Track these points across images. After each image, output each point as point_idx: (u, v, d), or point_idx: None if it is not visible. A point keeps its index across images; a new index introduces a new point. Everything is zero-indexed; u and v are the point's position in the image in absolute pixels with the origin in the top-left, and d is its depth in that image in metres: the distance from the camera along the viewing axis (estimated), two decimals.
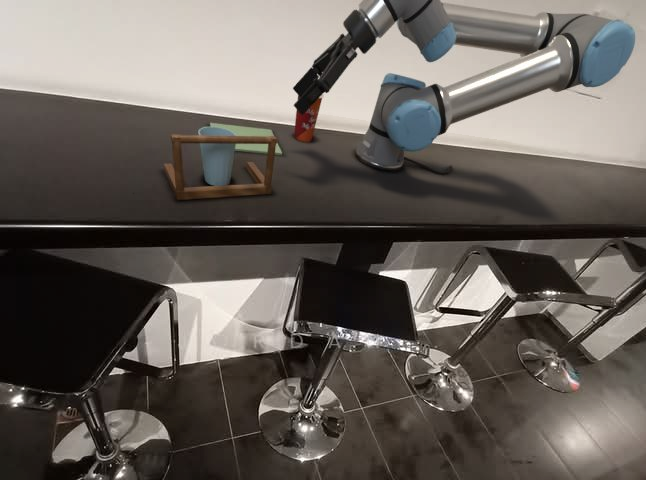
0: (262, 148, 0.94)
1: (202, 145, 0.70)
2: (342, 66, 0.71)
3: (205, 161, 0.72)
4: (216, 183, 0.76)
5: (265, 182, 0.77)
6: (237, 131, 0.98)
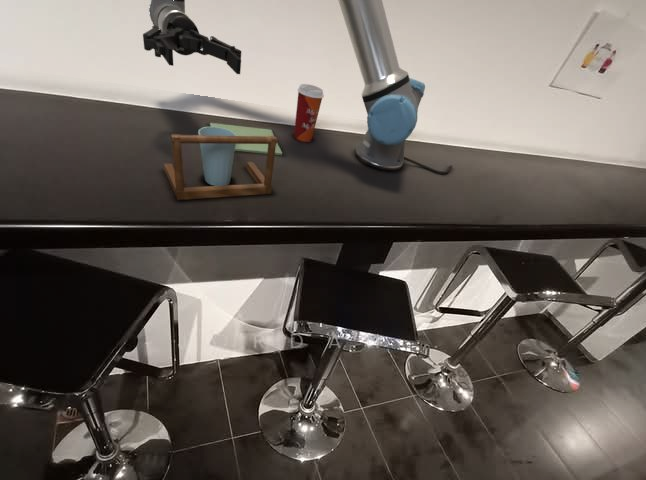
0: (262, 148, 0.94)
1: (202, 145, 0.70)
2: None
3: (205, 161, 0.72)
4: (216, 183, 0.76)
5: (265, 182, 0.77)
6: (237, 131, 0.98)
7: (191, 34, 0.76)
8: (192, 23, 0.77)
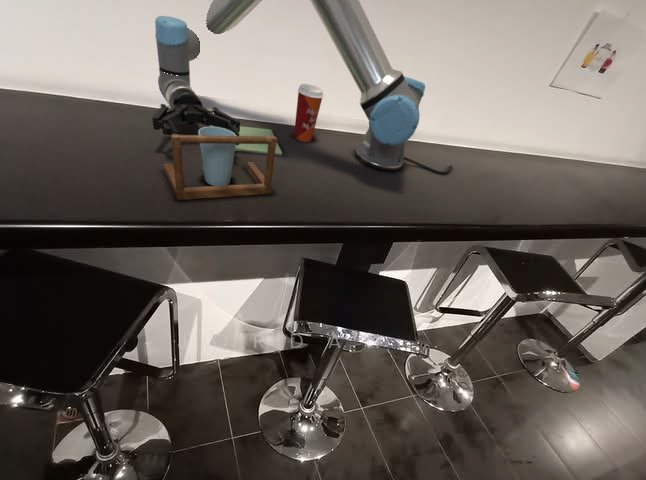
0: (262, 148, 0.94)
1: (202, 145, 0.70)
2: None
3: (205, 161, 0.72)
4: (216, 183, 0.76)
5: (265, 182, 0.77)
6: None
7: (195, 108, 0.84)
8: (196, 98, 0.86)
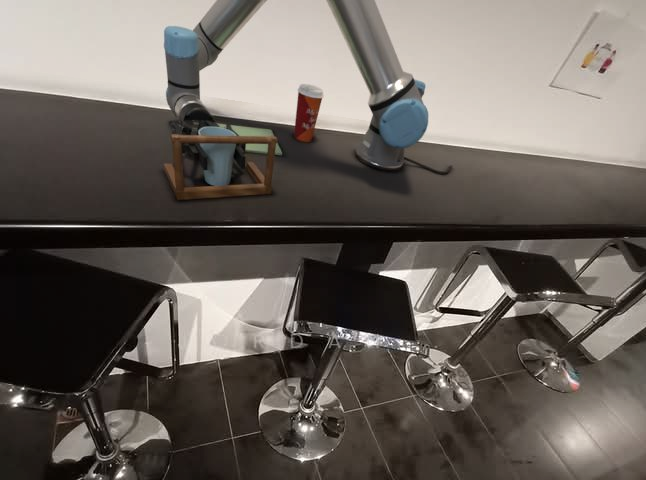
0: (262, 148, 0.94)
1: (202, 145, 0.70)
2: None
3: None
4: (216, 183, 0.76)
5: (265, 182, 0.77)
6: (237, 131, 0.98)
7: (207, 125, 0.79)
8: (207, 113, 0.80)
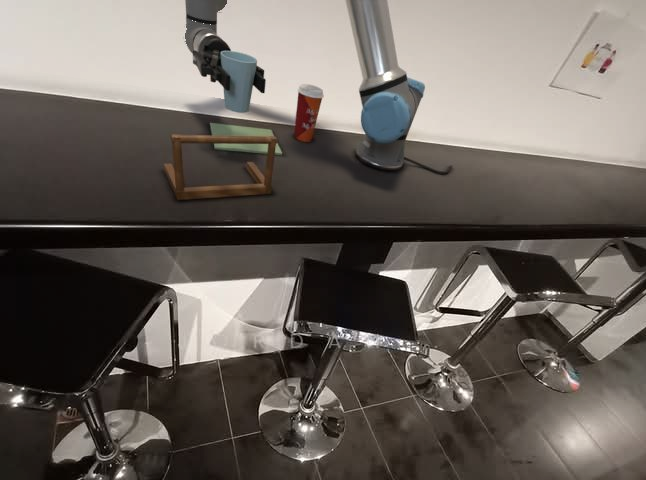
0: (262, 148, 0.94)
1: (224, 66, 0.72)
2: (197, 60, 0.77)
3: None
4: (236, 109, 0.78)
5: (265, 182, 0.77)
6: (237, 131, 0.98)
7: None
8: (226, 45, 0.83)
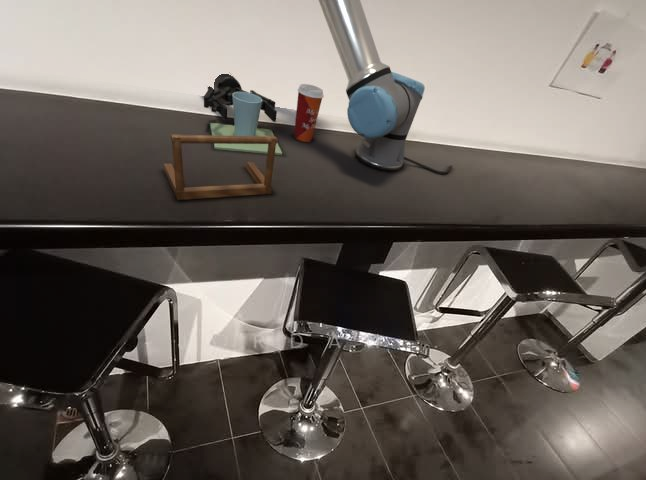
0: (262, 148, 0.94)
1: (235, 105, 0.88)
2: None
3: (237, 119, 0.91)
4: None
5: (265, 182, 0.77)
6: None
7: (236, 91, 0.97)
8: (236, 81, 0.98)
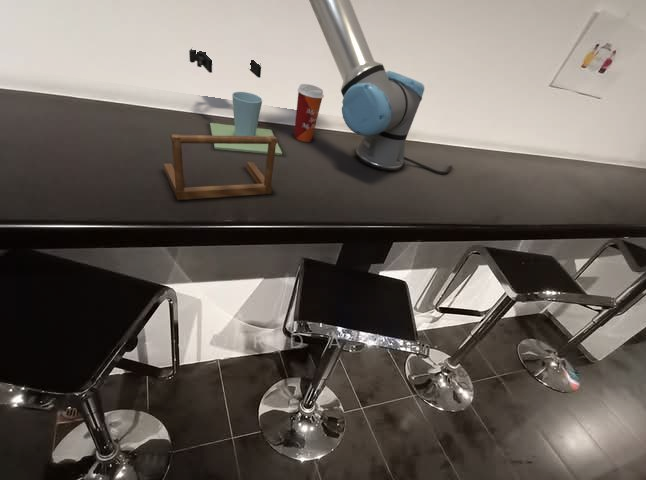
0: (262, 148, 0.94)
1: (235, 105, 0.88)
2: None
3: (237, 119, 0.91)
4: None
5: (265, 182, 0.77)
6: None
7: None
8: None
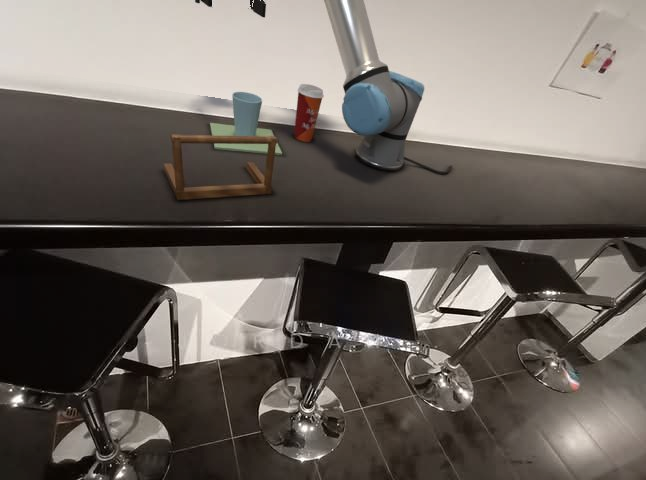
0: (262, 148, 0.94)
1: (235, 105, 0.88)
2: None
3: (237, 119, 0.91)
4: None
5: (265, 182, 0.77)
6: None
7: None
8: None
